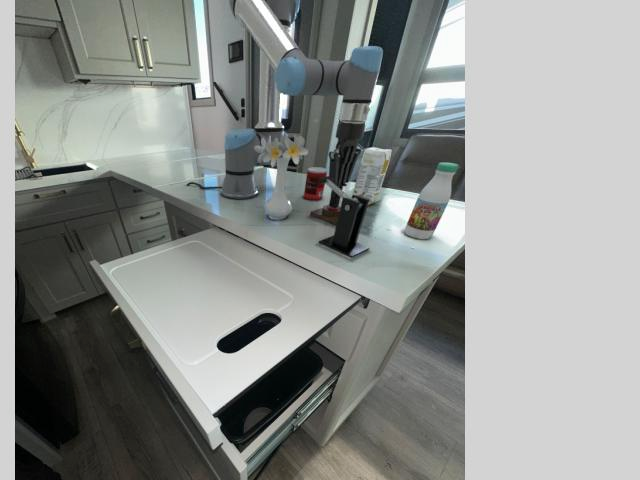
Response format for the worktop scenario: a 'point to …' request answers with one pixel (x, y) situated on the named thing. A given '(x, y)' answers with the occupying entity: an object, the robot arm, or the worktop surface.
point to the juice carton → (372, 173)
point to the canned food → (314, 183)
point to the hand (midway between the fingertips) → (333, 206)
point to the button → (332, 208)
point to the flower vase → (280, 170)
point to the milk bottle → (431, 203)
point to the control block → (326, 214)
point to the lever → (336, 188)
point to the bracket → (348, 228)
